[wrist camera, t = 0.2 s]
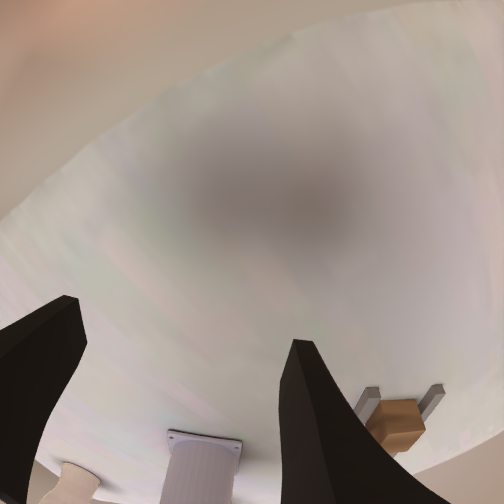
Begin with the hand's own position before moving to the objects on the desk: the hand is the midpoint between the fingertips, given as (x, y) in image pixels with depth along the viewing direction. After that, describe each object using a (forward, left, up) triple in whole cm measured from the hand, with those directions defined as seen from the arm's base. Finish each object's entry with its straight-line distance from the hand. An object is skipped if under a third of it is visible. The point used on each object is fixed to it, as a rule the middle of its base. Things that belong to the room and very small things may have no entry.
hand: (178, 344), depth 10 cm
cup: (-51, +25, -10) cm, 57 cm away
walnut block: (-17, -17, -10) cm, 26 cm away
